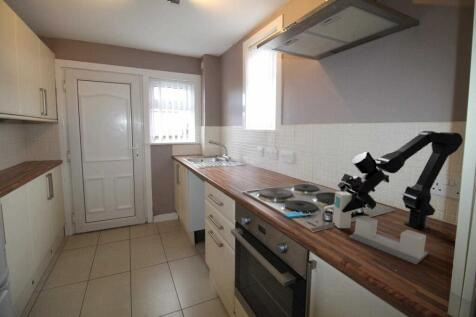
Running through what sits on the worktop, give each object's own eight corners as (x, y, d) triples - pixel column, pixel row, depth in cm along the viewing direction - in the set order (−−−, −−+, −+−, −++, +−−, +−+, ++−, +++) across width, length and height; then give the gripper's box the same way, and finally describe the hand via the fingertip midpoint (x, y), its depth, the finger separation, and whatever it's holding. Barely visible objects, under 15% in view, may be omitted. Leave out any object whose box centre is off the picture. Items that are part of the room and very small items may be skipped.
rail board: (363, 230, 91) (365, 213, 90) (427, 254, 75) (430, 234, 74) (349, 237, 85) (351, 219, 84) (416, 264, 69) (419, 242, 68)
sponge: (280, 212, 106) (288, 215, 101) (303, 209, 110) (311, 212, 105) (281, 215, 106) (288, 219, 101) (303, 213, 110) (311, 216, 105)
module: (343, 222, 97) (346, 191, 95) (350, 228, 92) (353, 195, 90) (332, 222, 97) (335, 191, 95) (338, 228, 92) (341, 195, 90)
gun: (352, 200, 117) (369, 207, 108) (352, 207, 118) (368, 214, 109) (320, 205, 112) (335, 213, 103) (320, 212, 113) (335, 220, 103)
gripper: (343, 163, 101) (316, 188, 101) (371, 172, 82) (338, 203, 83) (359, 181, 102) (332, 206, 103) (390, 194, 84) (357, 224, 85)
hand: (339, 209), depth 93 cm, fingers closed on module, 5 cm apart
